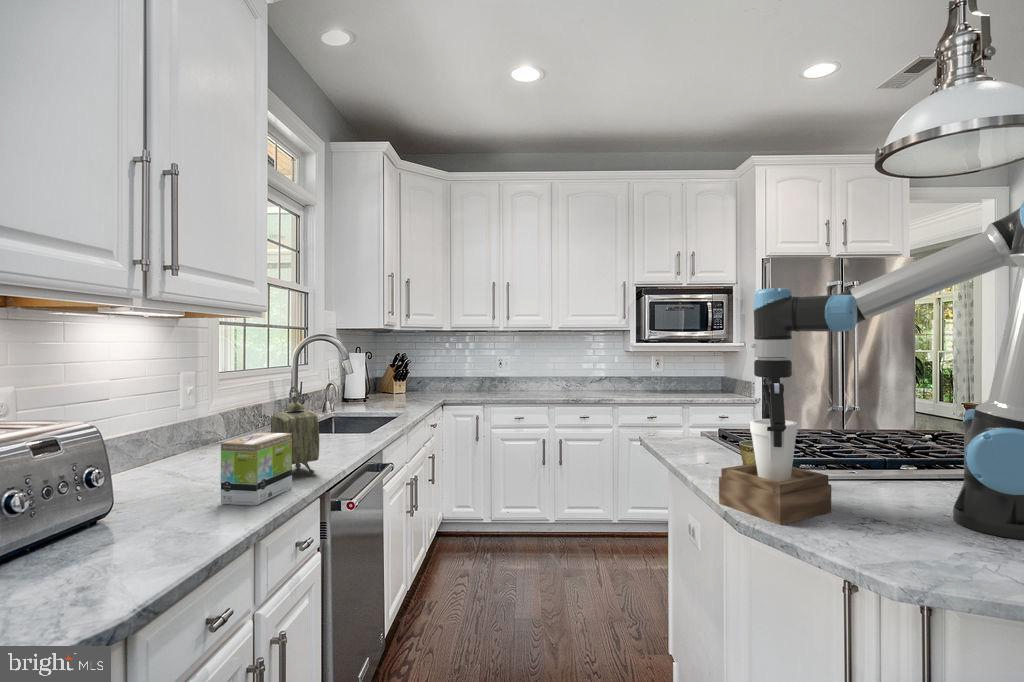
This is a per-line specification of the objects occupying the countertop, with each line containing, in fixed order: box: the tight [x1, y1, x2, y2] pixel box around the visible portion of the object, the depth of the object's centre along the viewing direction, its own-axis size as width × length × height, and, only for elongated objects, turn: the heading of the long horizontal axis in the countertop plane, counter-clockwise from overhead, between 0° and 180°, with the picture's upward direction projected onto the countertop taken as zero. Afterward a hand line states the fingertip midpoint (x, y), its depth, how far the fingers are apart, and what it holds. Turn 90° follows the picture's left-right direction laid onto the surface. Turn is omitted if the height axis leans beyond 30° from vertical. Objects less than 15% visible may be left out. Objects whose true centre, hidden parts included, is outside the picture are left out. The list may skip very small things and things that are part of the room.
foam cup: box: [749, 418, 798, 482], centre depth 123 cm, size 10×9×13 cm
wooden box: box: [718, 463, 832, 526], centre depth 123 cm, size 16×16×8 cm
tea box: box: [220, 432, 293, 506], centre depth 138 cm, size 15×10×15 cm, turn 171°
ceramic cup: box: [738, 439, 756, 465], centre depth 145 cm, size 13×10×10 cm
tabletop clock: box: [270, 385, 320, 476], centre depth 159 cm, size 14×9×25 cm, turn 40°
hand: (773, 455), depth 123 cm, fingers open, 13 cm apart
